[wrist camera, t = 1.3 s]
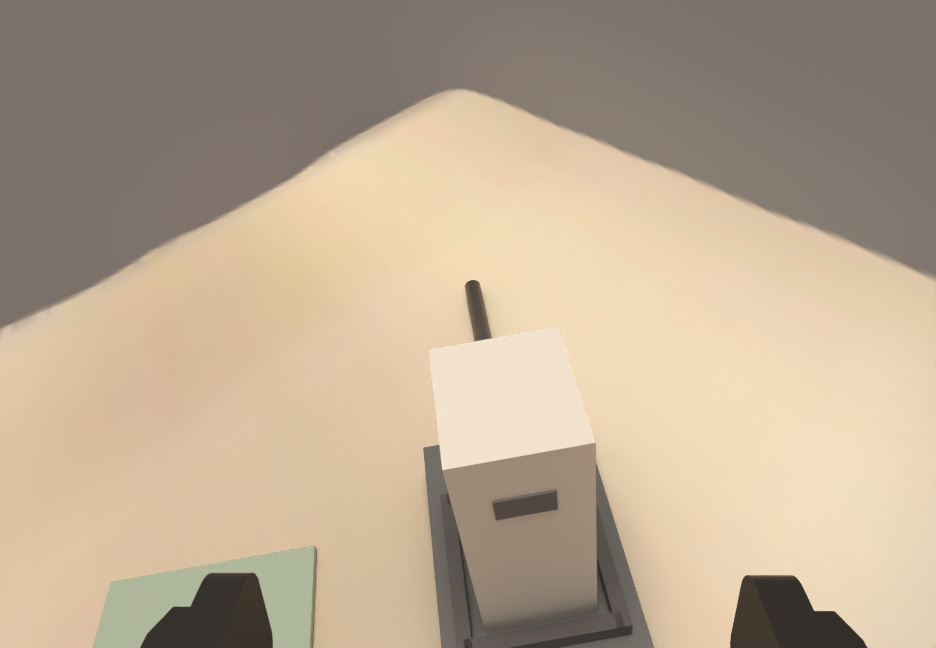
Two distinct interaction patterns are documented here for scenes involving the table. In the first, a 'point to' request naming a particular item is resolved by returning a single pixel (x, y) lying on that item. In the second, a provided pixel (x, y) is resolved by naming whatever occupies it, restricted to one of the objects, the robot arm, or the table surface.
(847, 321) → the table surface
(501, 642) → the strip
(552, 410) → the charger
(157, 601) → the mat
